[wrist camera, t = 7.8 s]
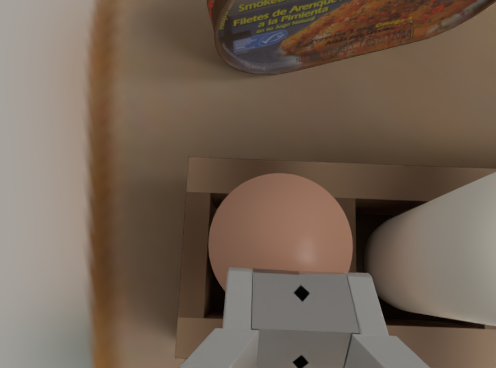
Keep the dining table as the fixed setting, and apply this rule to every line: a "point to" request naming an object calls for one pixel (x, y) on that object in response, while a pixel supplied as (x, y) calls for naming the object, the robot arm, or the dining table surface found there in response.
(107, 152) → the dining table surface
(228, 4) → the tin
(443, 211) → the white pillar candle
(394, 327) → the three candle holder
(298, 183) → the salmon pink capsule
